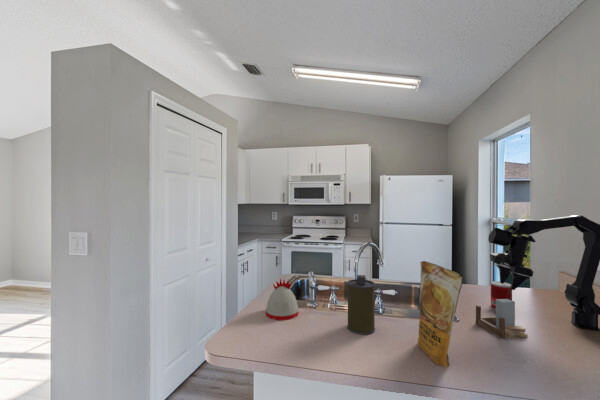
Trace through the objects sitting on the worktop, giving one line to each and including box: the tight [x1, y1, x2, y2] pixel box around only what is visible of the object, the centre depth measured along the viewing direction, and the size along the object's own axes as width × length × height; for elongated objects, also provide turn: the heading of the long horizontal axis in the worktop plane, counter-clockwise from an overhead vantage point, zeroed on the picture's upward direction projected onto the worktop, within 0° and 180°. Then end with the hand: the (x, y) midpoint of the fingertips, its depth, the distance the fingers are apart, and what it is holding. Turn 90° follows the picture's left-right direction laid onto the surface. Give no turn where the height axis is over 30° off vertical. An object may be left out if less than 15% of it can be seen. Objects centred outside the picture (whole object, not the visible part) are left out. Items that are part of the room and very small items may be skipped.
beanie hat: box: [265, 278, 299, 321], centre depth 124 cm, size 14×14×15 cm
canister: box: [346, 274, 376, 336], centre depth 110 cm, size 11×10×20 cm
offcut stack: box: [505, 325, 529, 339], centre depth 104 cm, size 7×4×3 cm, turn 96°
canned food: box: [490, 280, 513, 310], centre depth 131 cm, size 8×8×11 cm
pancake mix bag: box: [417, 260, 463, 370], centre depth 92 cm, size 7×19×28 cm, turn 5°
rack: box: [475, 305, 506, 340], centre depth 109 cm, size 12×13×7 cm
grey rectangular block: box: [495, 299, 516, 329], centre depth 109 cm, size 5×3×11 cm, turn 96°
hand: (506, 286), depth 118 cm, fingers open, 9 cm apart
